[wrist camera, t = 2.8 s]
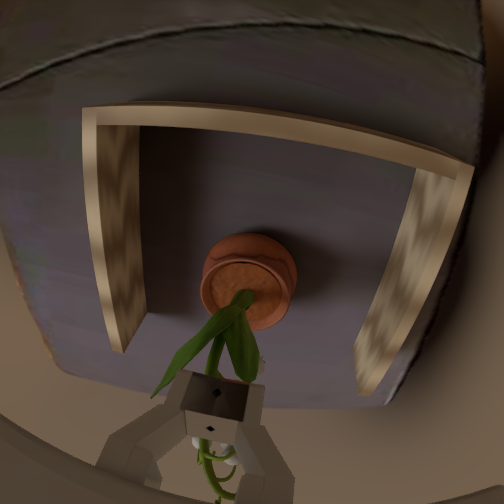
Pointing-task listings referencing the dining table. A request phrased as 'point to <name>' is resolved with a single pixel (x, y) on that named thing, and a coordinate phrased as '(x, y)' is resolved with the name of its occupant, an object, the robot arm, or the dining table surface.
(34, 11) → the dining table surface
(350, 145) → the open wooden planter box
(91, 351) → the dining table surface
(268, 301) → the potted flower
